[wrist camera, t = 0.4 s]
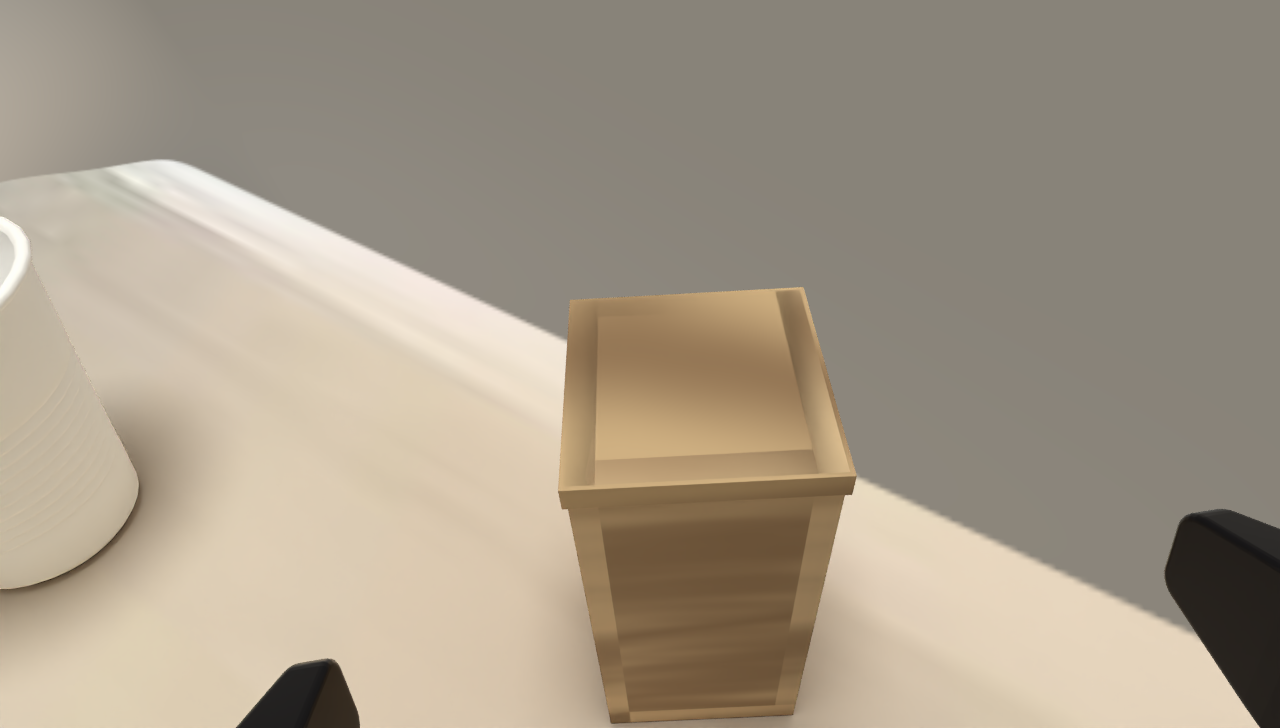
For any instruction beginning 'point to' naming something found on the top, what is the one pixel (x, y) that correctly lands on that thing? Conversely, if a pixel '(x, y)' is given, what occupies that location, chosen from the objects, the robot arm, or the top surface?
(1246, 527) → the robot arm
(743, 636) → the small crate
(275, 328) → the top surface
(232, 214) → the top surface
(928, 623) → the top surface
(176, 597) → the top surface
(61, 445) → the cup
